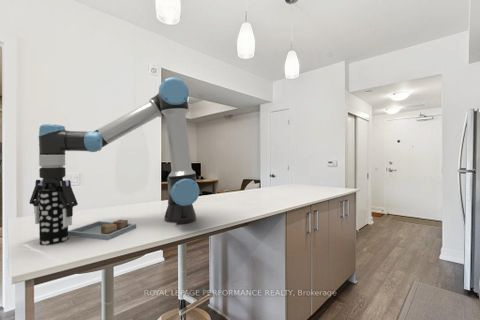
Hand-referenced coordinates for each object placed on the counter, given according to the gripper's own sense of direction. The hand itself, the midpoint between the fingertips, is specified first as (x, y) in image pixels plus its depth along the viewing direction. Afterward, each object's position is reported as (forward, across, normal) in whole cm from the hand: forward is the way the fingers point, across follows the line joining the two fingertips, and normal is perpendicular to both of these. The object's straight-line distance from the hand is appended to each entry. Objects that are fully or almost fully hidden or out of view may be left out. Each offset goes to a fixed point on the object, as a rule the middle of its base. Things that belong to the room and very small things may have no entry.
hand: (53, 224), depth 87 cm
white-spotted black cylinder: (+7, 0, 0) cm, 7 cm away
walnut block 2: (+6, -15, -16) cm, 23 cm away
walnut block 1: (+6, -15, -10) cm, 19 cm away
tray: (+7, -9, -13) cm, 17 cm away
